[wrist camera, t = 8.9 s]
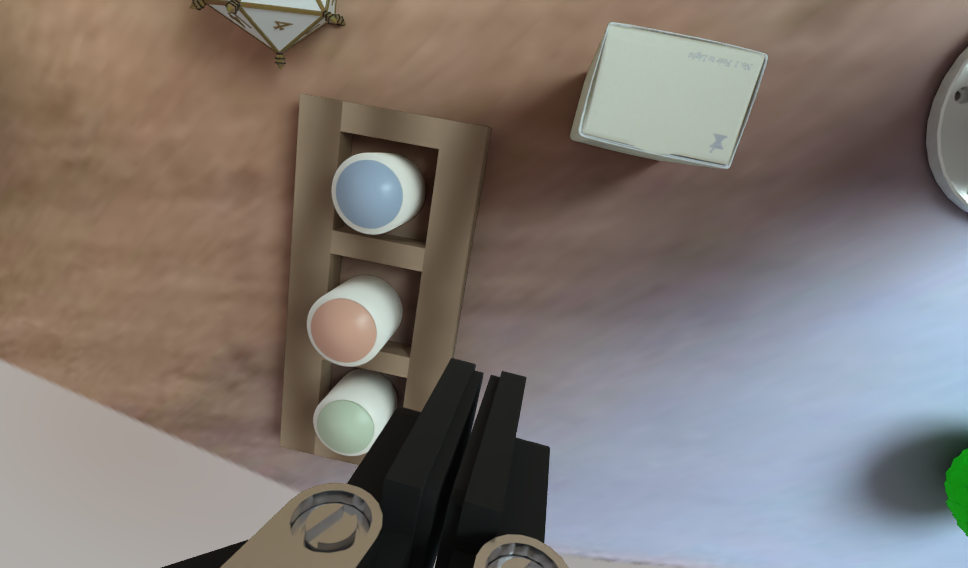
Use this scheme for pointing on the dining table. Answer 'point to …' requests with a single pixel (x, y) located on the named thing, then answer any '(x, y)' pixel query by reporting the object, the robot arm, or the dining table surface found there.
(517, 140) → the dining table surface
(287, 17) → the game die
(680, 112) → the skincare box
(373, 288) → the small jar
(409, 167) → the small jar
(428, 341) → the rack with square compartments
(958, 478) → the ornament
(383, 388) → the white round cylinder
